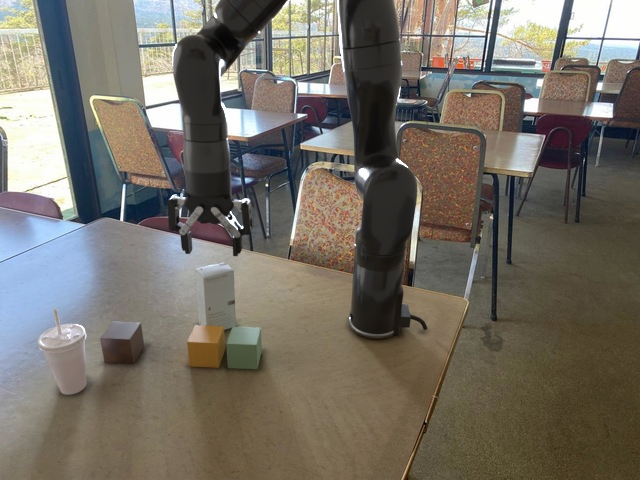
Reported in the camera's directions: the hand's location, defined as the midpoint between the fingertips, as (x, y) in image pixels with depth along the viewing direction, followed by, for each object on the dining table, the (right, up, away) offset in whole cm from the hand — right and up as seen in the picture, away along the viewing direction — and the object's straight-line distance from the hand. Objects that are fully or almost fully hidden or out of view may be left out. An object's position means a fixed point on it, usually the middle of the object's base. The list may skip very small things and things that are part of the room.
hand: (212, 253), depth 86 cm
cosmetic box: (0, -14, +6) cm, 16 cm away
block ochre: (0, -18, -3) cm, 18 cm away
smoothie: (-20, -21, -10) cm, 30 cm away
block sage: (+6, -18, -3) cm, 20 cm away
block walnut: (-15, -17, -3) cm, 23 cm away
